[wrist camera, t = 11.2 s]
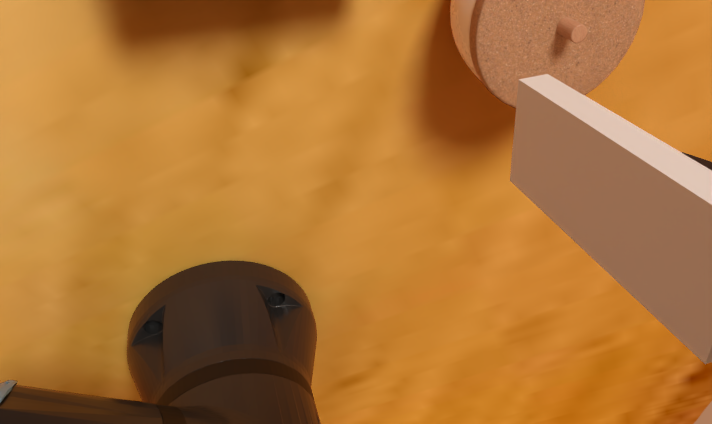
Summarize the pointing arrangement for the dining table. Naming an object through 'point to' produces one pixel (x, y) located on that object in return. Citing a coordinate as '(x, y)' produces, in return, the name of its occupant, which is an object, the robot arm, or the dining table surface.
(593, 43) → the lidded jar
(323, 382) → the dining table surface
